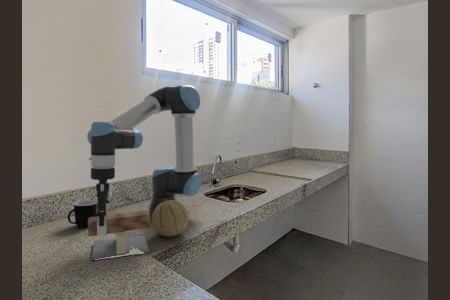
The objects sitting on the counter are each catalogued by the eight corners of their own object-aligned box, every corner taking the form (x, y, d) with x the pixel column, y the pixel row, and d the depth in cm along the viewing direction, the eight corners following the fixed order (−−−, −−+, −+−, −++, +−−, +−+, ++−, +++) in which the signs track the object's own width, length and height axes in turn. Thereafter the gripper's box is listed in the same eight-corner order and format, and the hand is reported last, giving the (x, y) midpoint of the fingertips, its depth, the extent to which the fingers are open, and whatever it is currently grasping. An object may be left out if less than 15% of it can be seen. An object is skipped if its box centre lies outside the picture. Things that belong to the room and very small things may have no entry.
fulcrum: (144, 238, 105) (145, 220, 104) (149, 253, 92) (149, 233, 91) (94, 244, 98) (94, 225, 97) (91, 261, 85) (91, 240, 84)
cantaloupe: (189, 241, 103) (190, 203, 102) (150, 243, 100) (151, 204, 99) (187, 228, 117) (188, 194, 116) (152, 229, 114) (153, 195, 113)
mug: (89, 220, 122) (89, 199, 122) (101, 225, 117) (101, 202, 117) (62, 228, 112) (62, 204, 111) (73, 233, 107) (73, 208, 107)
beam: (148, 223, 100) (148, 210, 100) (150, 227, 96) (149, 214, 95) (89, 231, 93) (88, 217, 92) (88, 236, 88) (87, 221, 88)
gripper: (93, 163, 101) (93, 217, 102) (87, 172, 78) (87, 243, 79) (114, 162, 104) (114, 216, 105) (114, 172, 81) (114, 240, 82)
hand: (102, 227), depth 92 cm, fingers open, 13 cm apart
